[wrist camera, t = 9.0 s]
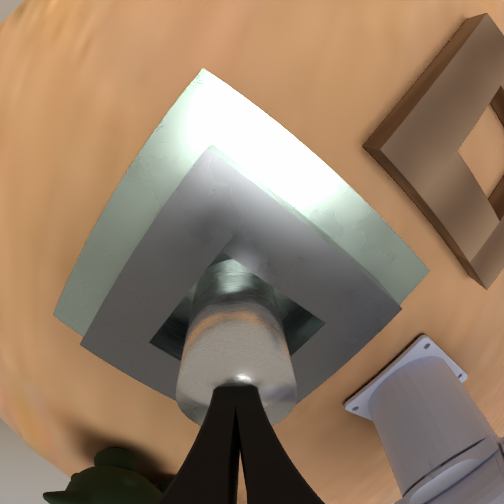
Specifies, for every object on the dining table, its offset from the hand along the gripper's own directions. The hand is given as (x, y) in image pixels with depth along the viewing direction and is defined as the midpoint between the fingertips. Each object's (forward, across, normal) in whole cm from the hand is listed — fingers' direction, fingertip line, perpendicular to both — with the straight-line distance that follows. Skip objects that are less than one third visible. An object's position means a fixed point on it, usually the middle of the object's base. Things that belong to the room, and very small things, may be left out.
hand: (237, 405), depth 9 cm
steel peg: (+7, 0, 0) cm, 7 cm away
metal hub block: (+8, 0, 0) cm, 8 cm away
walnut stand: (+8, -15, -8) cm, 19 cm away
